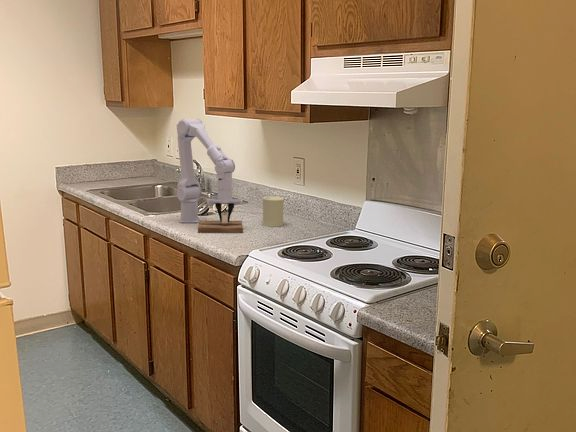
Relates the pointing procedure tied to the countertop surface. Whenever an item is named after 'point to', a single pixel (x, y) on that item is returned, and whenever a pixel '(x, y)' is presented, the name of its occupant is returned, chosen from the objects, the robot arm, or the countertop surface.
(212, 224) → the board
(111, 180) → the countertop surface
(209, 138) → the robot arm
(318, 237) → the countertop surface
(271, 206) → the can
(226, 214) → the fader
